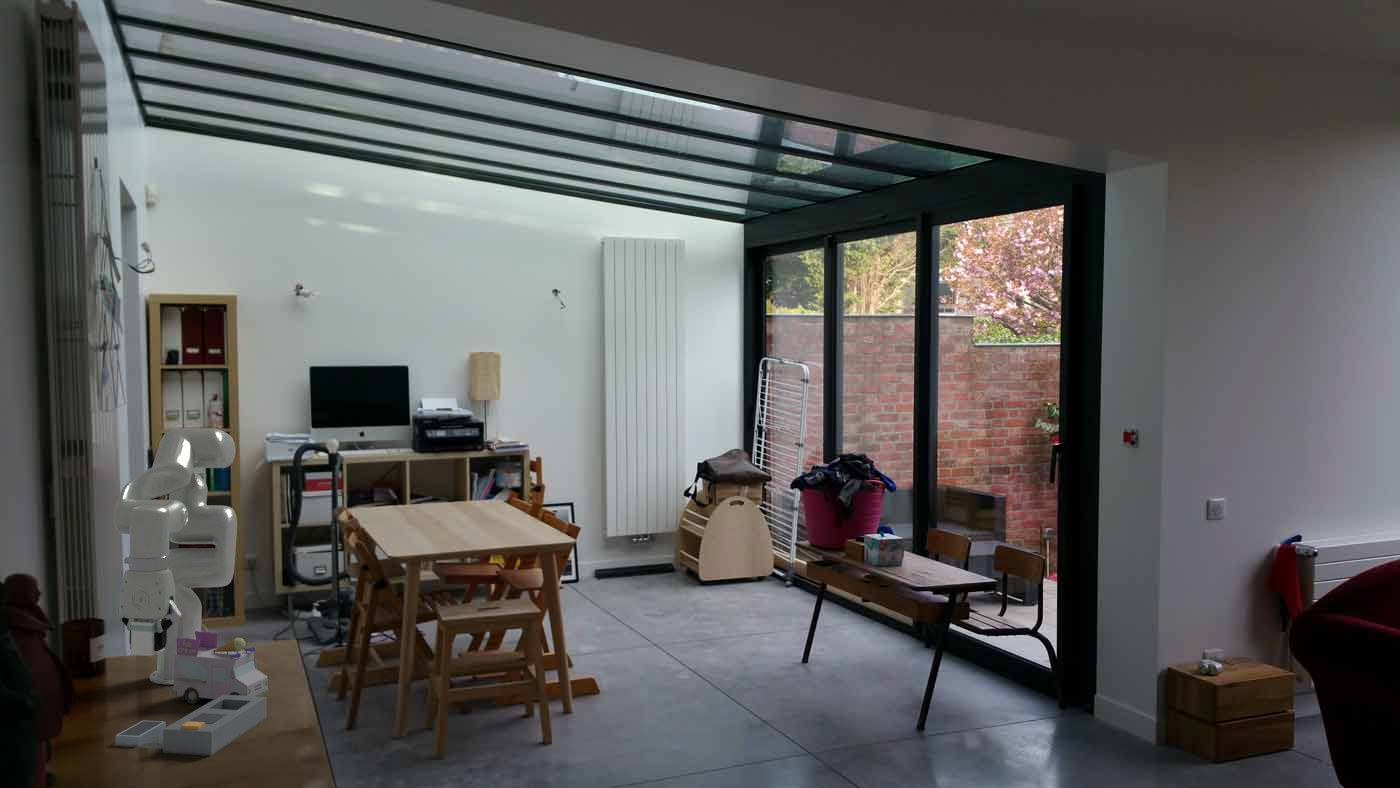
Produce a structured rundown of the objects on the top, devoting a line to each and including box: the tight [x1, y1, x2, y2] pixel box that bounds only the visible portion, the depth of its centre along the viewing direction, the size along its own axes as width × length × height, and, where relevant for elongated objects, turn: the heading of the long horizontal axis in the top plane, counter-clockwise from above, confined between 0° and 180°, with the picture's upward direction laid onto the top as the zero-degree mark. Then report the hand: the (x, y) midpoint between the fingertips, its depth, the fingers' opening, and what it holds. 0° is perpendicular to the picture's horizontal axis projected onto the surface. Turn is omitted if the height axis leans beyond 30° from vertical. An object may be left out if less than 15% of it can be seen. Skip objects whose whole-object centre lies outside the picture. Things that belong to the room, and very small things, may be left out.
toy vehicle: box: [171, 630, 270, 705], centre depth 237 cm, size 9×20×15 cm, turn 78°
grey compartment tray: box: [162, 695, 268, 757], centre depth 215 cm, size 22×10×6 cm, turn 176°
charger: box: [130, 619, 165, 657], centre depth 220 cm, size 5×5×7 cm
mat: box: [111, 733, 163, 750], centre depth 212 cm, size 10×12×1 cm
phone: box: [114, 719, 167, 746], centre depth 212 cm, size 9×5×2 cm, turn 176°
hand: (148, 647), depth 220 cm, fingers closed on charger, 4 cm apart
